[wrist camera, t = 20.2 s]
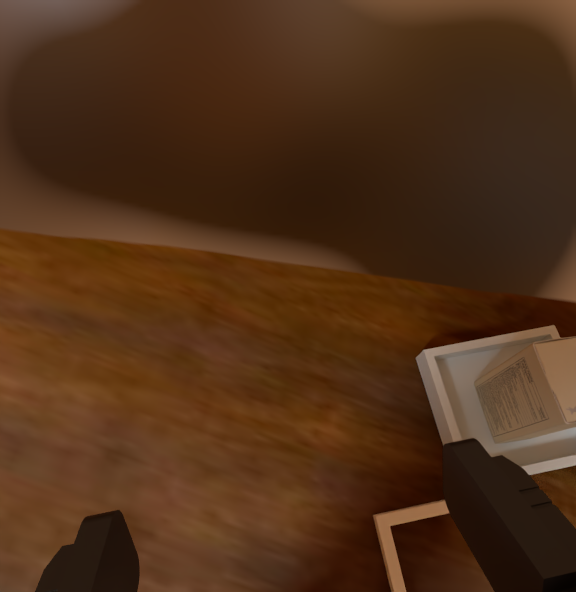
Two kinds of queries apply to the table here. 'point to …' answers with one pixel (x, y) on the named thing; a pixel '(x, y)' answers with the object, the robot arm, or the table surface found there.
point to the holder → (386, 538)
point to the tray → (466, 406)
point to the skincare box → (531, 392)
